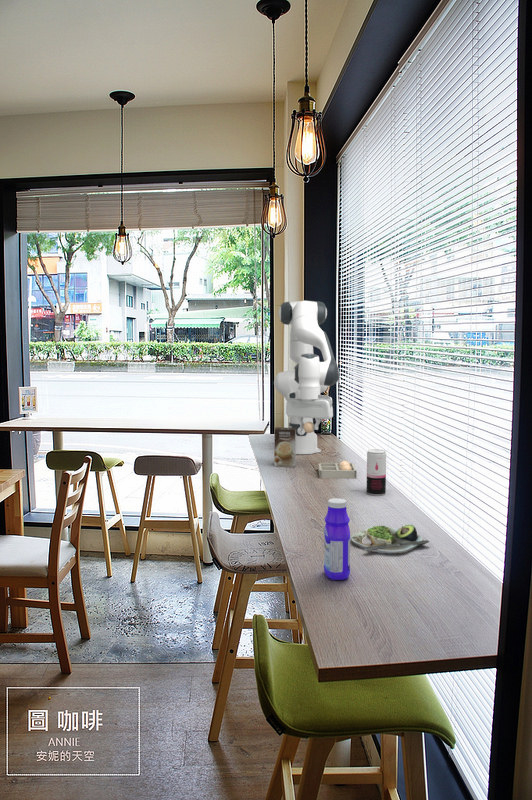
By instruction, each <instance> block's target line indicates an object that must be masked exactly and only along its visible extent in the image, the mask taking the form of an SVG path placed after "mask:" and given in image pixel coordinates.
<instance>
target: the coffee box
mask: <svg viewBox="0 0 532 800" xmlns="http://www.w3.org/2000/svg"><path fill="white" fill-rule="evenodd" d="M273 447H274V453H273V457H274V460H273V461H274V462H273V467H276V466H277V467H279V468H280V467H281V468H283V467H284V468H295V467H296V455H297V454H296V428H289V427H283V426H282V427H277V426H275V428H274V446H273Z"/></svg>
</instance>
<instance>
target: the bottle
mask: <svg viewBox="0 0 532 800" xmlns="http://www.w3.org/2000/svg"><path fill="white" fill-rule="evenodd" d="M350 521H351V519H350V517H349V515H348V512H347V500H346V499H344V498H337V497H335V498H330V499H328V501H327V513H326V515H325V517H324V522H325V524H324V528H323V529H324V530H323V534H324V536H323V537H324V540H323V542H324V549H323V550H324V551H323V552H324V554H323V556H324V557H323V558H324V559H323V572H324V574H325V575H326V577H327V578H328V579H330V580H332V581H338V580H339V581H341V580H342V581H343V580H347V579H349V577H350V574H351V559H350V558H351V549H350V547H351V544H350V543H351V530H350V526H349V523H350Z"/></svg>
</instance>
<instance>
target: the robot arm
mask: <svg viewBox="0 0 532 800" xmlns="http://www.w3.org/2000/svg"><path fill="white" fill-rule="evenodd" d="M327 315H328V309H327V307H326V304H325V303H324V302H323V301H314V300H299V301H298V300H297V301H285V302H282V303H281V304H280V307H279V309H278V318H279V320H280V322H281V324H283V325H287V326H289V325H291V326H290V332H289V356H290V359H291V360H292V362H294V363H296V365H295V366H294V368H293V369H294V370H286V371H279V372H278V373H277V374H276V375H275V377H274V381H273V385H274V388H275V389H276V391H277V392H278V393H279V394H281V395H282V396H283V398H284V399H285V400H286V404H285V414H286V416H287V417H289V422H288V428H296V455H311V454H316V453H322V449H320V448H319V447H318V435H317V434H316V433H315V430H317V431H318V430H319V425H320V423H321V422H322V420H331V419H332V418H333V417H334V408H333V398H332V397H331V396H329V395H322V394H321V393H325V392H326V391H327V389H328V388H329V387H333V386H334V385H335V384H337V383H338V382H339V379H340V370H339V366H338V364H337V362H336V359H335V356H334V355H335V354H334V352H333V348H332V346H331V342H330V340H329V337H328V335H327V332H326V331H324V330H322V328H321V327H320V325H323V324H324V323H325V321H326V319H327ZM314 347H315V348H317V349H319V350H320V352H321V354H322V358H323V361H320V356H319V355H317V354H316V353H314ZM314 419H315V420H314ZM306 422H312V423H313V424H314V425H313V430H314V431H313V432H312V433H307V432H305V431H304V429H303V426H304V424H305V423H306ZM314 422H315V423H314Z"/></svg>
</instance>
